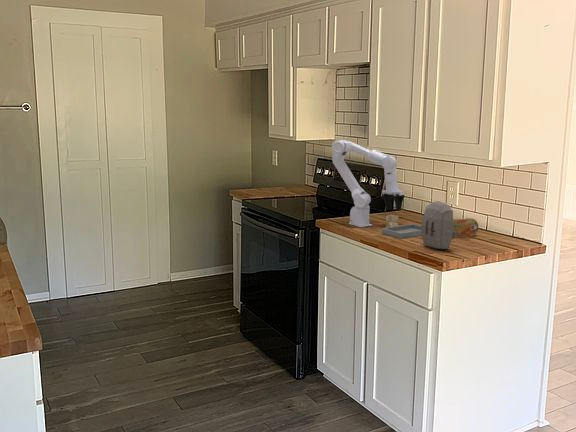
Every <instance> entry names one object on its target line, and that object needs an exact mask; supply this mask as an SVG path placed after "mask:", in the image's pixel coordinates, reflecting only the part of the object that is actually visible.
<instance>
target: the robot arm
mask: <svg viewBox="0 0 576 432" xmlns="http://www.w3.org/2000/svg"><path fill="white" fill-rule="evenodd" d="M331 145H332V146H331V149H330V150H331V156H332V157H331V158H332V163H333V165H334V167H335V169H336V170H337V171H338V173H339V174H340V176H341V178H342V179H343V181H344V183H345V184H346V186H347V188H348V190H349V191H350V192H351V197H352V200H353V204H354V206H352V207H351V209H350V212H349V222H348V225H350V226H351V225H352V226H355V227H359V228H366V227H372V226H373V224H371V223H370V205H369V204H371V201H372V198H371V195H370V194H369V193H368V192H366V191H365V190H364V188H363V187H361V186H360V184H359V183H358V180H357V179H356V178H355V176H354V174H353V172H352V171H351V169H350V168H349V167H348V164H347V163H346V162H345V157H346V155H347V153H349V152H354V153H356V154H360V155H362V156H364V157H367V158H368V161H370V162H372V163H374V164H376V165H378V166H382V168H383V170H384V172H383V174H384V182H385V189H384V190H381V194H382V195H381V199H383V201H384V204H385V206H386V209H387V210H392V209H393V203H392V202H393V200H394V204H395V210H396V211H401V210H402V206H403V201H404V198H405V194H404V190H401V189H399V185H398V175H397V174H398V173H397V168H396V165H397V159H396V158H395V157H394V156H392V155H389V154H388V153H384V152H380V150H379V149H371V150H370V149H367V147H366V148H365V147H364V146H362V145H359V144H357V143H355V142H353V141H350V140H347V139H341V140H335V141H334V142H333V143H332V144H331Z"/></svg>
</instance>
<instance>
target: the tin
mask: <svg viewBox="0 0 576 432" xmlns="http://www.w3.org/2000/svg"><path fill="white" fill-rule="evenodd" d="M478 231H479V223H478V221H477V220H476V219H474V218H453V234H452V238H470V237H474V236H475V235H476V234H478V233H477V232H478Z"/></svg>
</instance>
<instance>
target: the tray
mask: <svg viewBox="0 0 576 432" xmlns="http://www.w3.org/2000/svg"><path fill="white" fill-rule="evenodd" d="M381 233H382V234H381V235H386V236H388V237H392V238H396V239H398V240H399V239H400V240H402V239H409V238H414V237H419V236H421V237H422V234H421V224H420V225H419V224H415V223H409V224H404V225H398V226H395V227H389V228H386V227H383V228H382V230H381Z"/></svg>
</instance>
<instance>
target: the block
mask: <svg viewBox="0 0 576 432" xmlns="http://www.w3.org/2000/svg"><path fill="white" fill-rule="evenodd" d="M385 218H386V220H385V221H386V223H385V228H389V227H395V226H399V216H398V215H396V214H389V215H386V217H385Z"/></svg>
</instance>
